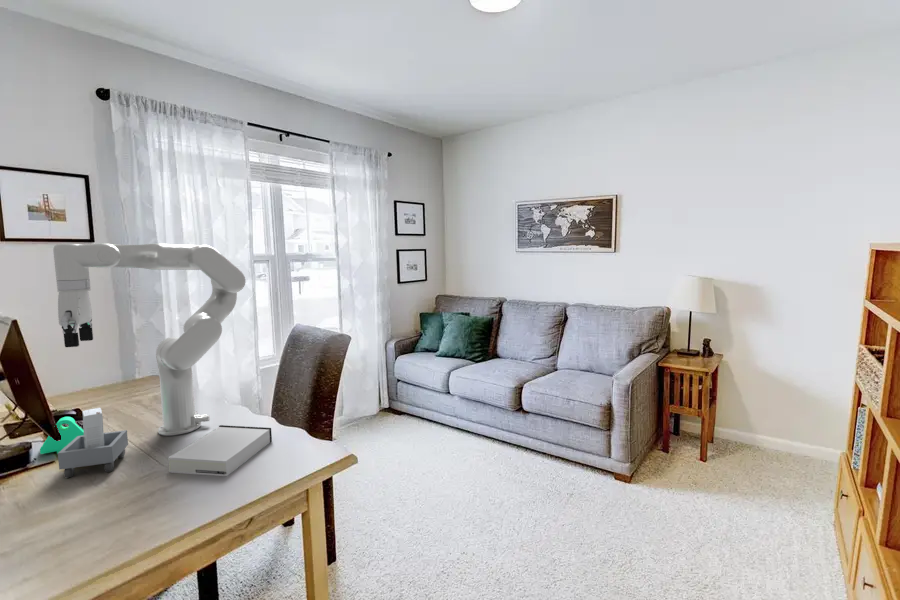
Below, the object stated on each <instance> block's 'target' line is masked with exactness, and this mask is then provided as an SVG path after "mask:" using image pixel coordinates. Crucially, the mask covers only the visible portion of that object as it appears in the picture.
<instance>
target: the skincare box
mask: <svg viewBox="0 0 900 600" xmlns="http://www.w3.org/2000/svg"><path fill="white" fill-rule="evenodd" d="M81 411H82V422H83V423H82V426H83V427H82V429H83V430H84V445H85V448H93V447H101V446H104V433H105V432H104V416H103V412H102V408H101V407H96V408H90V409H85V410H81Z"/></svg>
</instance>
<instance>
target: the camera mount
mask: <svg viewBox="0 0 900 600" xmlns="http://www.w3.org/2000/svg"><path fill="white" fill-rule="evenodd" d="M63 424H65V425H68V426H63ZM55 425H57V428H58V430H59V433H60V435H61V440H60V441H56V440H54V439H53V438H52V437H50V436H49V435H48V436H47V437H46V439H45V441H44V442H43V444H42V445H41V447H40V448H39V451H40V453H39V454H40V455H45V454H49V453H54V452H56V454H57V455H58V453H59V452H60V451H61V450H62V449H63V448H64V447H66V446H67V445H68V444H69V443H70V442H71V441H73V440H74V439H75V438H76V437H77V436H82V435H84V429H83V428H82V427H81V426H79V425H78V423H76V420H75V419H74V418H73V417H71V416H64V417H61V418H59V420H58V421H57V422H56V424H55Z"/></svg>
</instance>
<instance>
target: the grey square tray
mask: <svg viewBox="0 0 900 600" xmlns="http://www.w3.org/2000/svg"><path fill="white" fill-rule="evenodd" d="M128 446H129V439H128V430H127V429H124V430H116V431H108V432H104V446H101V447H93V448H85V445H84V435H82V436H77V437H76V438H75V439H74V440H73V441H71V442H70V443H69V444H68V445H67V446H66V447H64V448H63V449H62V450H61V451H60V452H59V453H58V454H57V460H58V470H59V471H60V470H64V471H63V476H64V478H65V479H68V478H73V477H74V475H75V471H76V469H75V468H81V467H88V466H95V465H102V464H103V465H104V471H105V473H110V472H113V471H114V467H115V460H117V459H120V458H122V459H123V458H124V457H125V454H126V448H127V447H128Z"/></svg>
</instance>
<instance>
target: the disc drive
mask: <svg viewBox="0 0 900 600" xmlns="http://www.w3.org/2000/svg"><path fill="white" fill-rule="evenodd" d="M272 438H273V437H272V428H271V427H260V426H259V427H257V426H245V425H244V426H240V425H222V424H221V425H218V427H217V428H215V429H213V430H212V431H210V432H208V433H206V434H205V435H204V436H202V437H200V438H199V439H196V440H195V441H193V442H192V443H190V444H188V445H186V446H185V447H183V448H181V449H180V450H179V451H176V452H175V453H173V454H172V455H170V456H168V458H167V459H168V472H169V473H173V474H187V475H189V474H190V475H204V476H217V477H219V476H220V477H228V476H229V475H231V474H232V473H233V472H234V471H236V470H237V469H239V467H240V466H242V465H243V464H244V463H246V462H247V461H248V460H250V459H251V458H252V457H254V456H255V455H256V454H257V453H258V452H260V451H261V450H262V449H264V448H265V447H266V446H267V445H268V444H271V443H272V442H273V439H272Z"/></svg>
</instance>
